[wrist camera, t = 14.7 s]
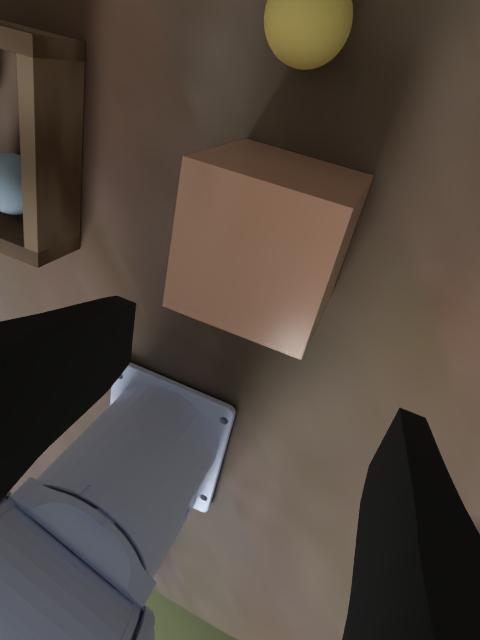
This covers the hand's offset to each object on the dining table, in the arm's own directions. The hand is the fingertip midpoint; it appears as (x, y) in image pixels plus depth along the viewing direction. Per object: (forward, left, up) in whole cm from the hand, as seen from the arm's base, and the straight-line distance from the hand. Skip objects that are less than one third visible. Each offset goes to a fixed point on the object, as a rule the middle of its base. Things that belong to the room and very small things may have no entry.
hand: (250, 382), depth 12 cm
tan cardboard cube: (+1, +2, -10) cm, 11 cm away
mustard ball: (+8, +3, -10) cm, 14 cm away
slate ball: (-1, +16, -10) cm, 19 cm away
